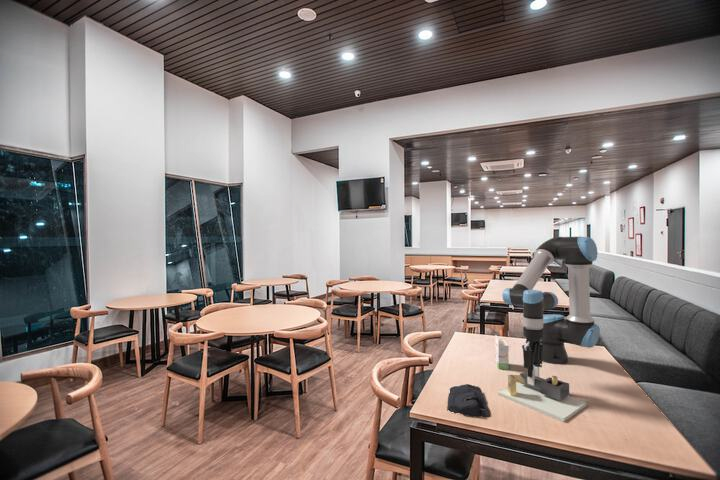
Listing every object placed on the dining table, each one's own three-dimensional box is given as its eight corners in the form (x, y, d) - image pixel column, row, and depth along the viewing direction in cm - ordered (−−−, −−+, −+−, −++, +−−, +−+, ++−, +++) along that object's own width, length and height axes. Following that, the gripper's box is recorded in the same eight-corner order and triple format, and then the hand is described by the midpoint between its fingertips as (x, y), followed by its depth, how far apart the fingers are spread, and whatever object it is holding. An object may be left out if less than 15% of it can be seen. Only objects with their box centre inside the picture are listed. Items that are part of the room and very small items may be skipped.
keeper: (520, 394, 138) (520, 375, 138) (524, 400, 133) (524, 380, 133) (507, 393, 139) (507, 374, 139) (511, 399, 134) (511, 379, 134)
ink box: (509, 369, 163) (509, 339, 163) (498, 369, 164) (498, 339, 164) (505, 363, 172) (505, 334, 172) (495, 362, 173) (494, 334, 173)
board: (522, 382, 149) (522, 380, 149) (586, 405, 128) (586, 402, 128) (498, 395, 138) (498, 392, 138) (563, 422, 117) (563, 418, 117)
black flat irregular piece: (485, 392, 141) (485, 381, 141) (490, 420, 120) (490, 407, 120) (448, 388, 145) (448, 377, 145) (446, 414, 124) (446, 401, 124)
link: (569, 394, 132) (569, 383, 132) (560, 400, 128) (560, 388, 128) (526, 379, 147) (526, 369, 146) (517, 384, 142) (517, 373, 142)
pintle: (553, 394, 135) (553, 375, 135) (558, 396, 133) (558, 377, 133) (550, 396, 134) (550, 376, 134) (556, 398, 132) (556, 378, 132)
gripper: (533, 322, 148) (534, 375, 148) (514, 328, 138) (514, 385, 139) (551, 326, 142) (551, 381, 142) (532, 332, 132) (532, 391, 133)
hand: (533, 383), depth 140 cm, fingers closed on link, 3 cm apart
